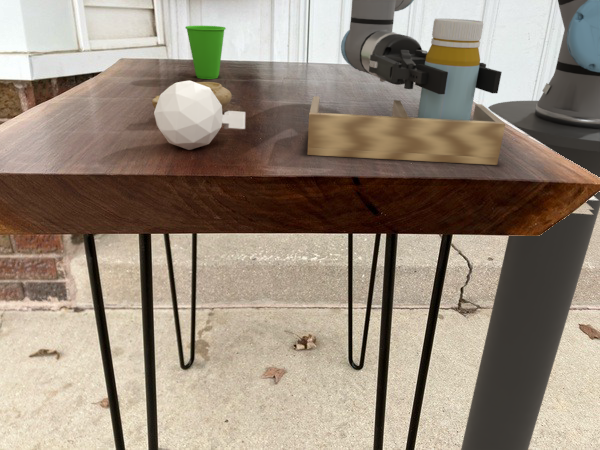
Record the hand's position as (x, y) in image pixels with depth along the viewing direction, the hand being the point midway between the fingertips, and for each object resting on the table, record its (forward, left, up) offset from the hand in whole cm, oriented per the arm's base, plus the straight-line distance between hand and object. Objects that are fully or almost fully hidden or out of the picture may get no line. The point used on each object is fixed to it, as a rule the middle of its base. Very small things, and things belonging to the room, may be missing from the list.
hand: (470, 82), depth 66 cm
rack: (+8, -5, -10) cm, 14 cm away
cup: (+47, -56, -10) cm, 73 cm away
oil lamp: (+40, -17, -10) cm, 44 cm away
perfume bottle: (+35, 0, -10) cm, 36 cm away
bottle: (+2, -5, -8) cm, 10 cm away
